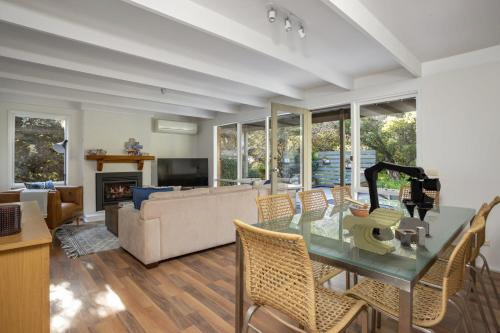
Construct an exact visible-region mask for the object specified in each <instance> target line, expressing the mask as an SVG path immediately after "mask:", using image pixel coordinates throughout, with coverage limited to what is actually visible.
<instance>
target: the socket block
mask: <svg viewBox="0 0 500 333" xmlns="http://www.w3.org/2000/svg"><path fill="white" fill-rule="evenodd" d="M402 232H405V233H410V234H411V243H412V242H415V243H416V231H415V230H409V229H398V228H395V229H394V237H395V238H397V239H399V240H401V233H402Z"/></svg>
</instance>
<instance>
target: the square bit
mask: <svg viewBox="0 0 500 333" xmlns="http://www.w3.org/2000/svg"><path fill="white" fill-rule="evenodd" d="M415 244H416V245H417V246H420V247H421V246H423V247H425V246H426V236H425V228H423V227H416V242H415Z"/></svg>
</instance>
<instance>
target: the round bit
mask: <svg viewBox="0 0 500 333" xmlns="http://www.w3.org/2000/svg"><path fill="white" fill-rule="evenodd" d="M399 243H400V246H402V247H411V243H412V242H411V234H410V233H405V232H402V233H401V239H400V242H399Z"/></svg>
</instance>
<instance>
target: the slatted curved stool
mask: <svg viewBox="0 0 500 333" xmlns="http://www.w3.org/2000/svg"><path fill="white" fill-rule="evenodd" d="M403 217H405V211H403V210H395V209H388V208H383V207H380V208H377V209H375V210H374V211H373V212H371V213H370V214H369V213H368V215H367V216H365V217H361V216H356V215H351V214H346V215H344V216H343V218H342V230H346V231H352V235H353V237H352V238H353V244H354V246H355V247H357V249H361V250H365V251H367V252H371V253H374V254H379V255H382V256H383V255H386V254H388V253H391V252H393V251H395V250H396V246H395V245H394V244H389V243H386V242H383V241H380V240H378V239H377V238H375V237H374V235H373V234H372V231H373V229H374V228H380V229H381V230H384V229H387V228H388V229H389V228H391V227H394V226H397V224H398V223H400V221H401V220H402V218H403Z"/></svg>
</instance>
